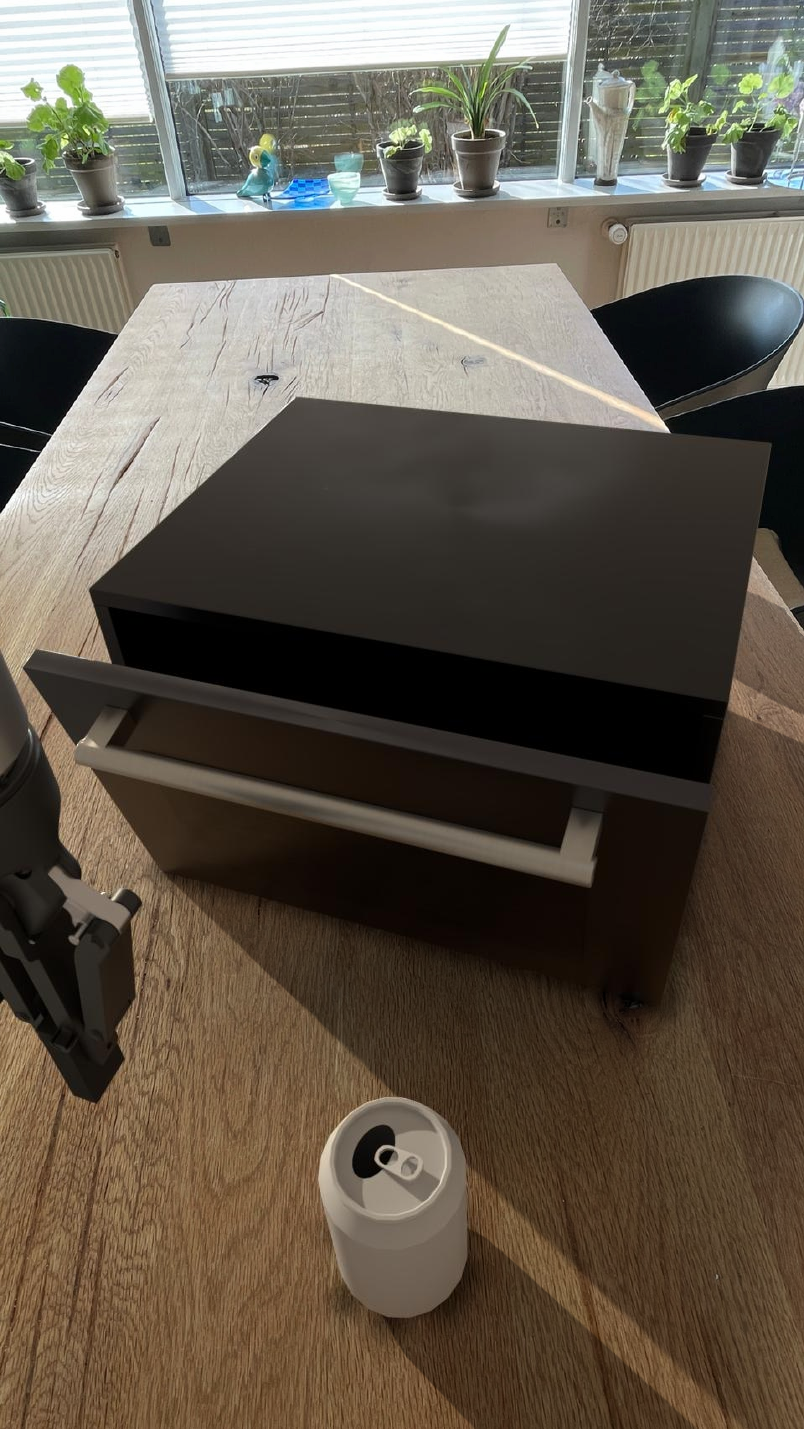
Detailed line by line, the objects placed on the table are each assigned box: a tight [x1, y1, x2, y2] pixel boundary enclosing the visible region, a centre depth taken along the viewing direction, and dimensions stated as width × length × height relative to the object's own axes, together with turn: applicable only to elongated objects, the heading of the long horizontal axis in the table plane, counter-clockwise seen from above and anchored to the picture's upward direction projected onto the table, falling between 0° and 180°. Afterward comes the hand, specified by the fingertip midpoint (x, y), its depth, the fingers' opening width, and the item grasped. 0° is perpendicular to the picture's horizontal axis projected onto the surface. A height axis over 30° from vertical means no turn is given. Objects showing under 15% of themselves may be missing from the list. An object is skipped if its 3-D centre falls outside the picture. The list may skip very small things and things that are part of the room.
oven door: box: [21, 648, 715, 1007], centre depth 61 cm, size 5×40×26 cm, turn 70°
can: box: [317, 1096, 468, 1319], centre depth 51 cm, size 8×8×12 cm
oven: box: [88, 396, 772, 785], centre depth 75 cm, size 32×40×26 cm
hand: (99, 1076), depth 51 cm, fingers closed
